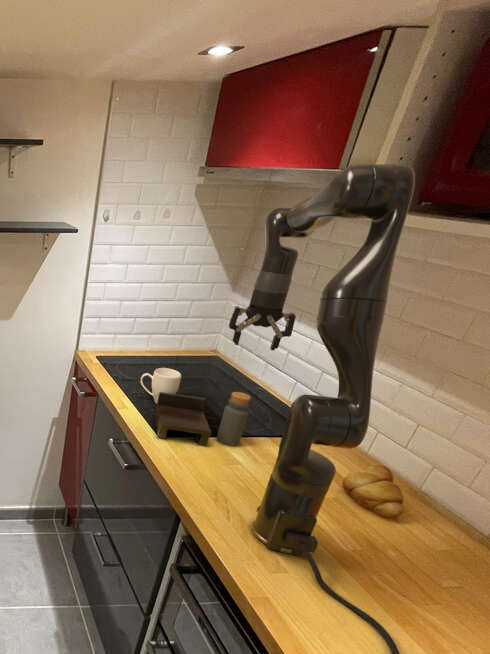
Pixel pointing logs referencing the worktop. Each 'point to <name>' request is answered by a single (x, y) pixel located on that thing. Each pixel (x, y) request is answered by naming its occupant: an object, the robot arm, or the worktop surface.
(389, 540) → the worktop surface
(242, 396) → the bottle
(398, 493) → the bread roll
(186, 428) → the dark brown legged piece
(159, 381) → the mug
